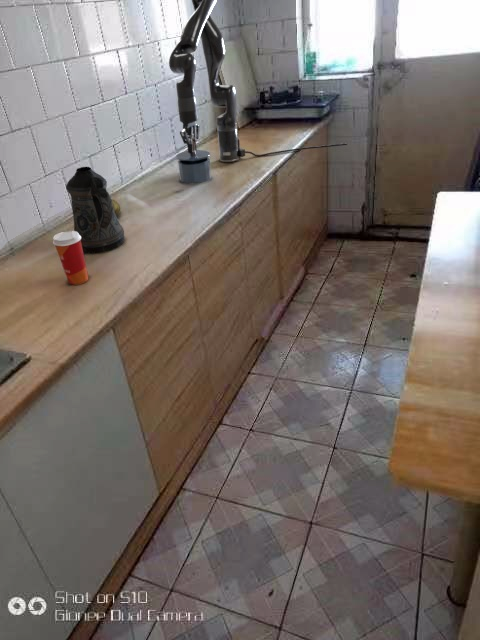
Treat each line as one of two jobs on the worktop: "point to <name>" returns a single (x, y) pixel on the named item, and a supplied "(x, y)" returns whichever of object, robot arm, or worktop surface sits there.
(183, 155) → the lid
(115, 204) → the potato
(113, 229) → the beer stein
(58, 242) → the paper cup
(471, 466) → the worktop surface
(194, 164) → the pot
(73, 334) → the worktop surface
